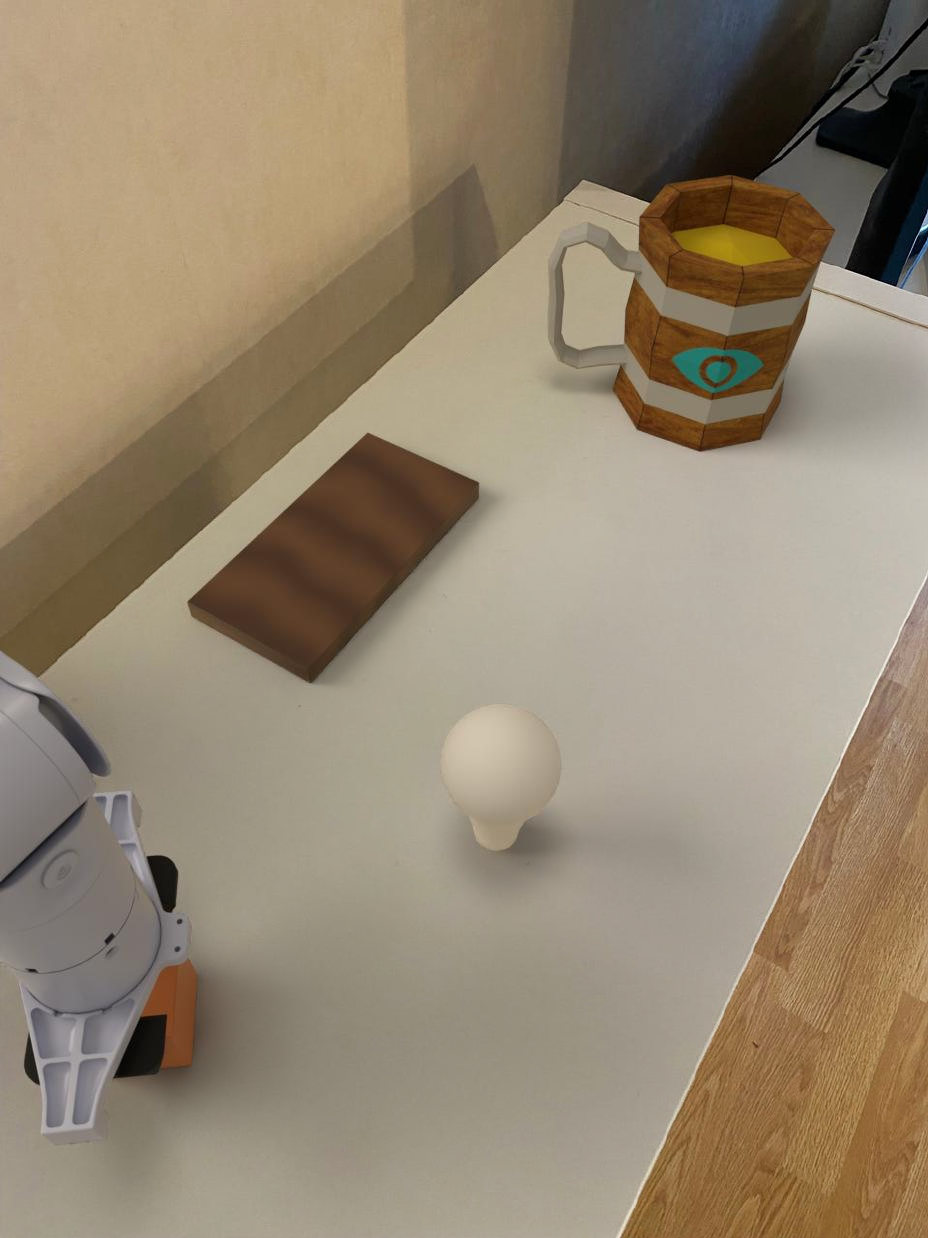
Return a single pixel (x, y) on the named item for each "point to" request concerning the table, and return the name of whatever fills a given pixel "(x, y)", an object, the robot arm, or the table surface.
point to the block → (175, 1011)
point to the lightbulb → (500, 770)
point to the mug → (704, 307)
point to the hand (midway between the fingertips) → (142, 1015)
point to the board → (334, 555)
